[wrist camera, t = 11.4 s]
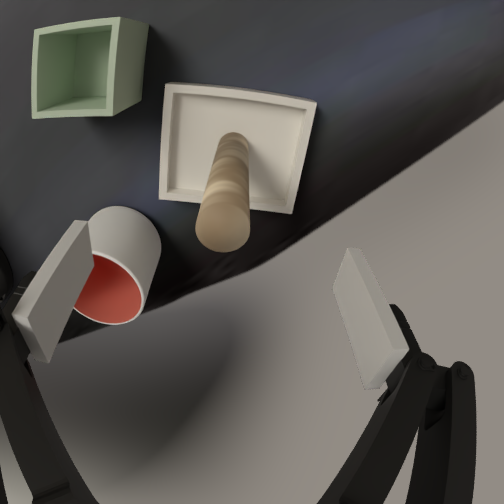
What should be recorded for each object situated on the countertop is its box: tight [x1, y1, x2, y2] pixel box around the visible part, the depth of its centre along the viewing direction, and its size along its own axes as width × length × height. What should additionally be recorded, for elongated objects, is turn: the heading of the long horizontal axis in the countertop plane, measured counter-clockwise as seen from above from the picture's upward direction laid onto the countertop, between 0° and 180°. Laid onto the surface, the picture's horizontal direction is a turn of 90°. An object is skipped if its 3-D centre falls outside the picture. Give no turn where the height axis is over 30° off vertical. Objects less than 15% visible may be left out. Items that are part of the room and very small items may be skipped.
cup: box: [73, 206, 161, 325], centre depth 34 cm, size 10×10×10 cm
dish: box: [159, 82, 317, 214], centre depth 31 cm, size 14×12×2 cm
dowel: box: [196, 132, 250, 252], centre depth 24 cm, size 3×3×16 cm
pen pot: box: [32, 17, 149, 119], centre depth 22 cm, size 8×8×8 cm
